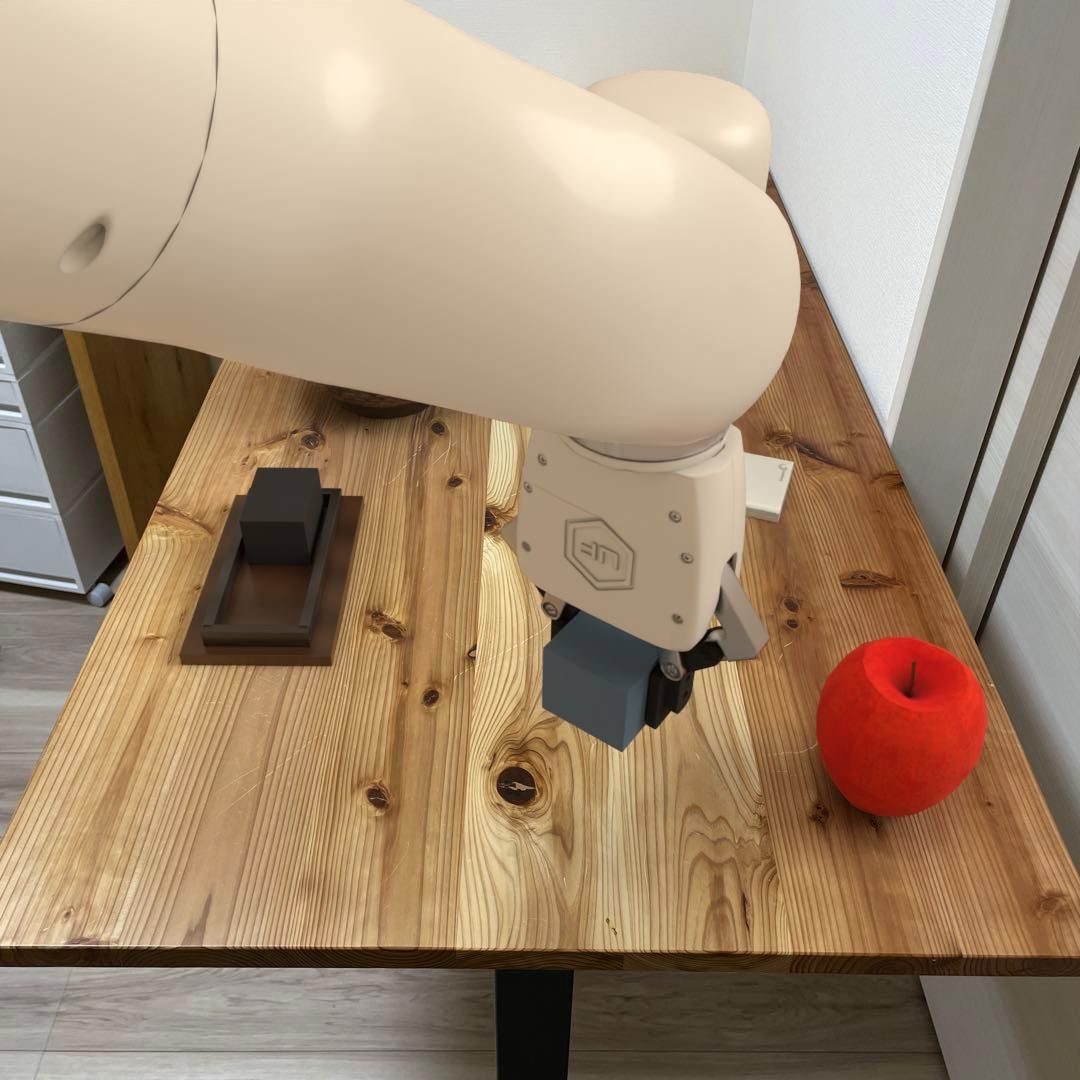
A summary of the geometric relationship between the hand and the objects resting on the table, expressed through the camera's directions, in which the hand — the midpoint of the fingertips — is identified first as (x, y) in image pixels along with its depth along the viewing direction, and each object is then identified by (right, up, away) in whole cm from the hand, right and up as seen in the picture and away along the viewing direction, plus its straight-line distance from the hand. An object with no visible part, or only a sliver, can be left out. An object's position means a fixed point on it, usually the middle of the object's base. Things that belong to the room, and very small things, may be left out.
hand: (618, 683), depth 56 cm
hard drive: (+12, +12, +40) cm, 43 cm away
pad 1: (-25, +8, +31) cm, 41 cm away
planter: (-19, +22, +50) cm, 58 cm away
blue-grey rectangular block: (0, 0, 0) cm, 0 cm away
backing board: (-25, +5, +29) cm, 38 cm away
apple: (+18, -9, +14) cm, 24 cm away
